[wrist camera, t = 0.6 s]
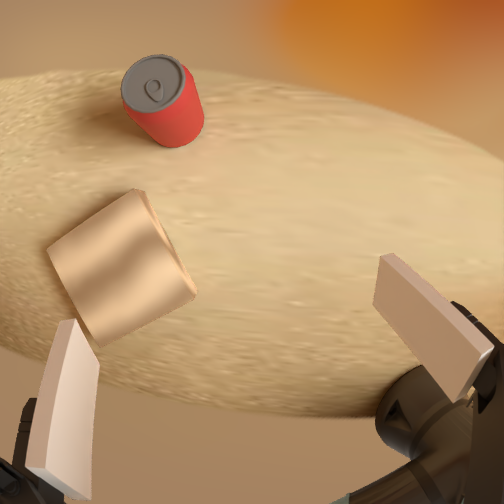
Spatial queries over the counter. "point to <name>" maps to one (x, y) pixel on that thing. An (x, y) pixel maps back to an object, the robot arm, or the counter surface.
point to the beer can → (163, 100)
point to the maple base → (121, 269)
